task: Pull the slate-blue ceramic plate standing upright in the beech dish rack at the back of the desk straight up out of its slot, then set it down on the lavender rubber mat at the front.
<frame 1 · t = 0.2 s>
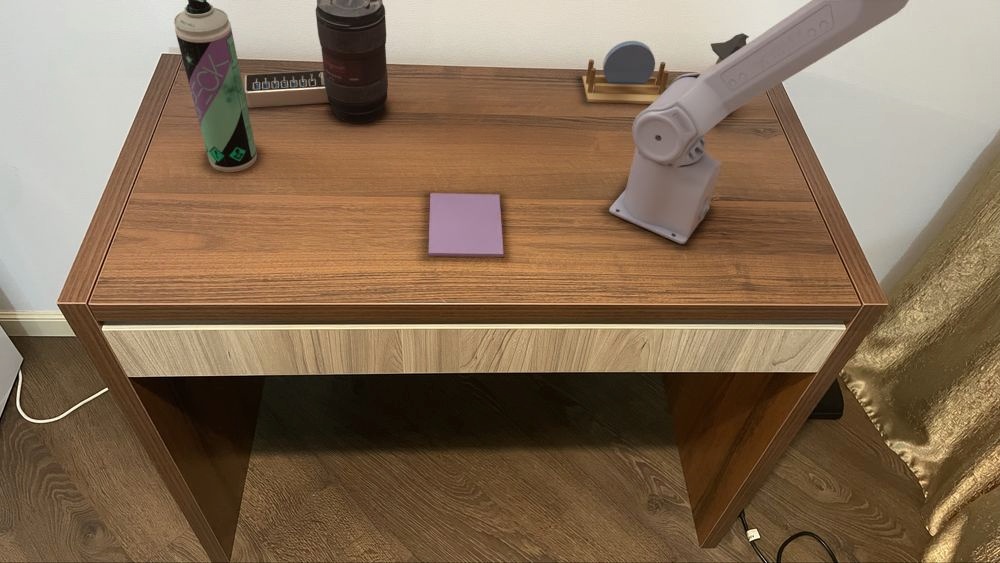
multiport hub: (291, 97, 100), on the table, touching camera lens
mat: (465, 225, 84), on the table
spray can: (233, 159, 90), on the table
wizard figurine: (717, 115, 103), on the table
camera lens: (358, 110, 99), on the table, touching multiport hub
rack: (623, 91, 106), on the table
plate: (628, 65, 103), point 4 cm above the table, touching rack
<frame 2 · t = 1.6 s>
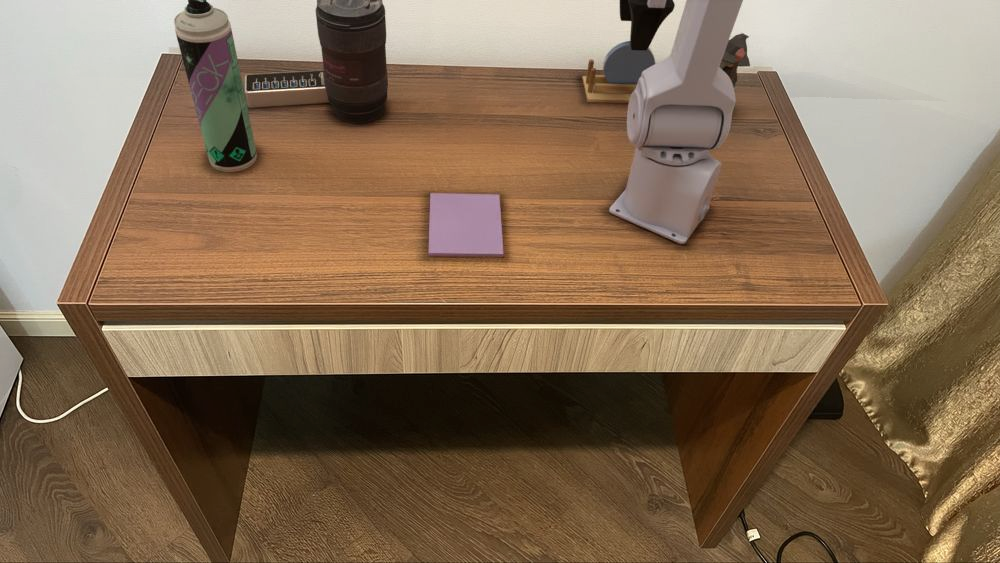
hand: (633, 34, 100), 9 cm above the table, tool pointing down, fingers open, 7 cm apart
nothing on the table moved.
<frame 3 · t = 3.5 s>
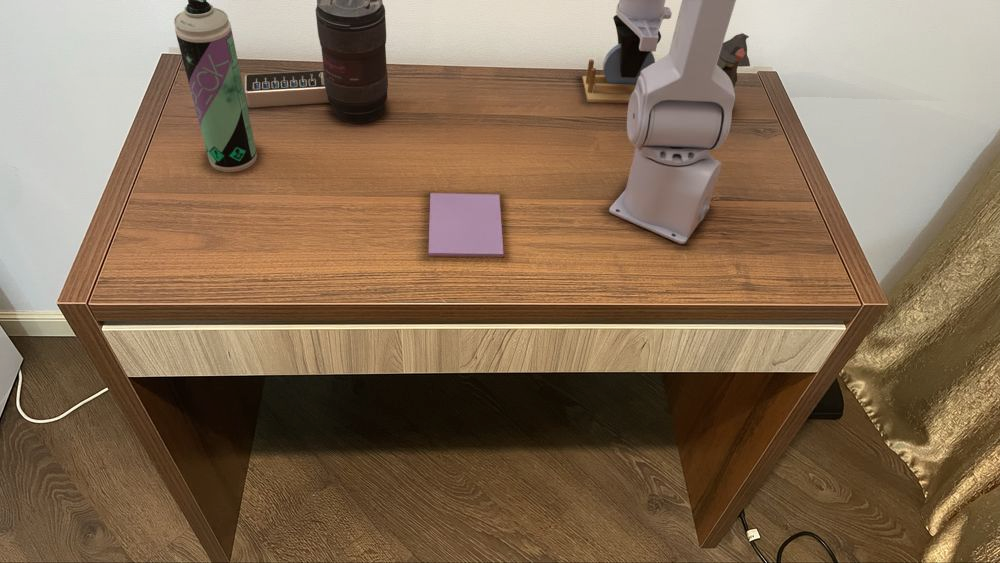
hand: (627, 73, 104), 3 cm above the table, tool pointing down, fingers closed on plate, 1 cm apart
plate: (628, 65, 103), point 4 cm above the table, touching gripper, rack
everything else where it was.
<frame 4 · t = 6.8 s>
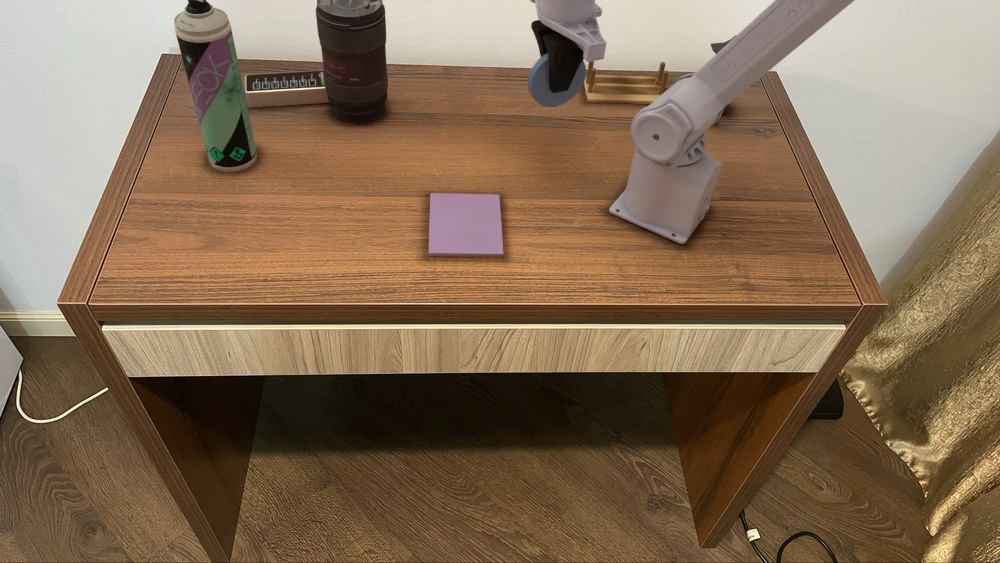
hand: (556, 86, 87), 10 cm above the table, tool pointing down, fingers closed on plate
multiport hub: (291, 97, 100), on the table
camera lens: (358, 110, 99), on the table
plate: (557, 78, 86), point 11 cm above the table, touching gripper
everything else where it was.
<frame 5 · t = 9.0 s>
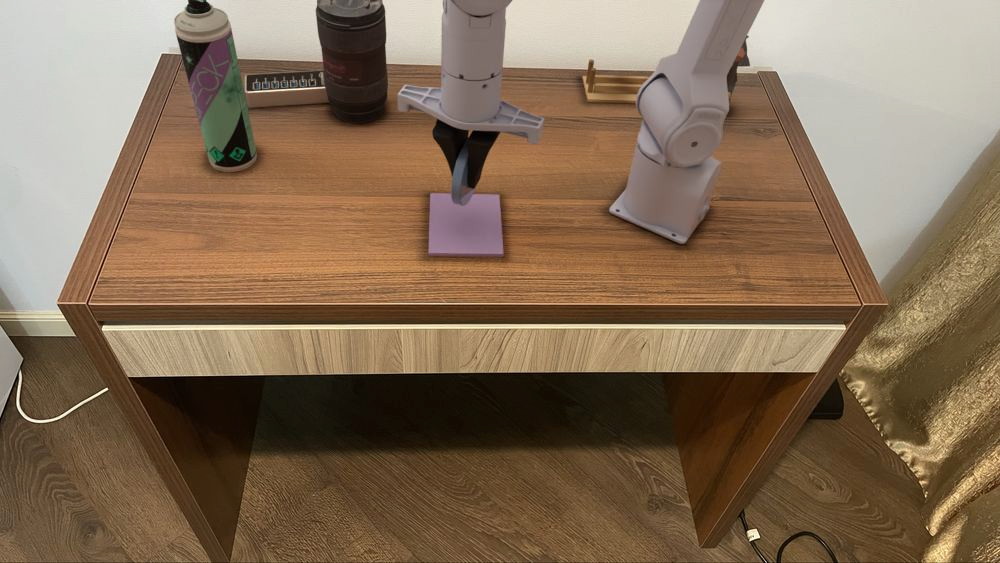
hand: (467, 180, 80), 6 cm above the table, tool pointing down, fingers closed on plate
plate: (467, 172, 79), point 7 cm above the table, touching gripper
everything else where it was.
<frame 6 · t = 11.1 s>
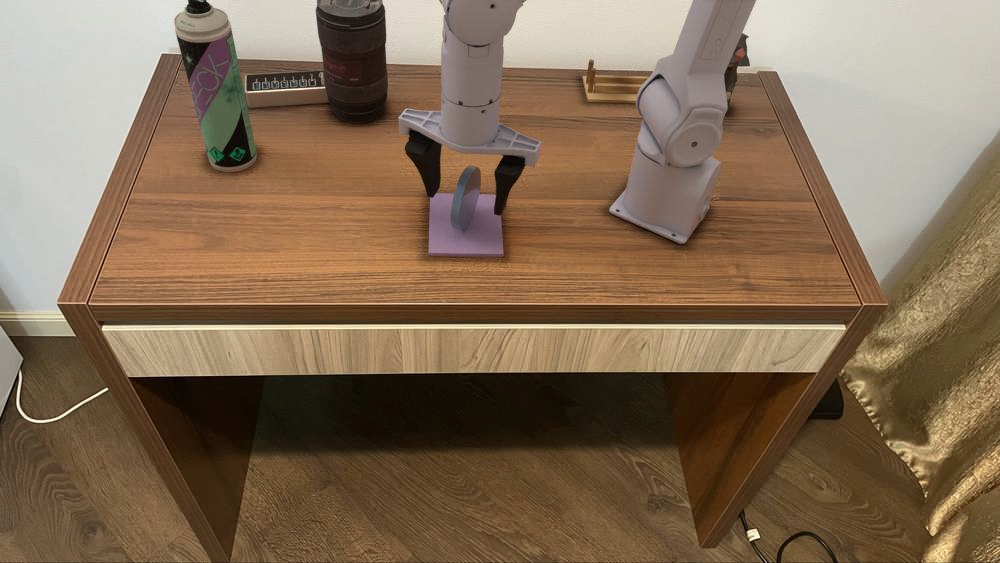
hand: (466, 200, 82), 4 cm above the table, tool pointing down, fingers open, 7 cm apart
multiport hub: (291, 97, 100), on the table, touching camera lens
camera lens: (358, 110, 99), on the table, touching multiport hub
plate: (466, 198, 81), point 4 cm above the table, touching mat
everything else where it was.
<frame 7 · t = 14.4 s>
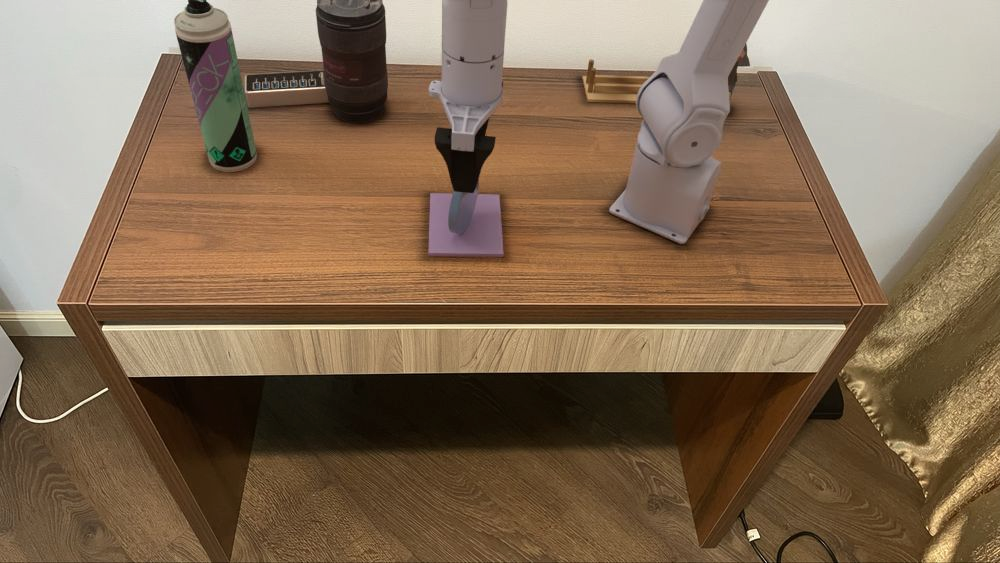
hand: (468, 167, 79), 8 cm above the table, tool pointing down, fingers open, 7 cm apart
plate: (463, 202, 81), point 4 cm above the table, tilted 11°, touching mat
everything else where it was.
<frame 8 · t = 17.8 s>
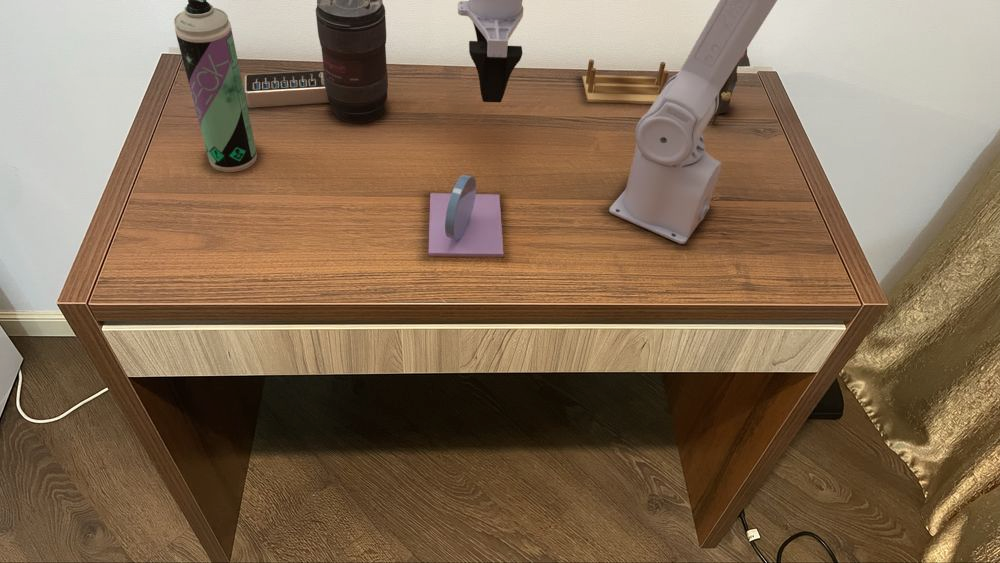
hand: (490, 82, 88), 9 cm above the table, tool pointing down, fingers open, 7 cm apart
plate: (460, 207, 80), point 4 cm above the table, tilted 27°, touching mat
everything else where it was.
at the end: plate inside the target area on the mat (1.6 cm from its centre), point 4.0 cm above the mat's base; the gripper is holding nothing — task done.
